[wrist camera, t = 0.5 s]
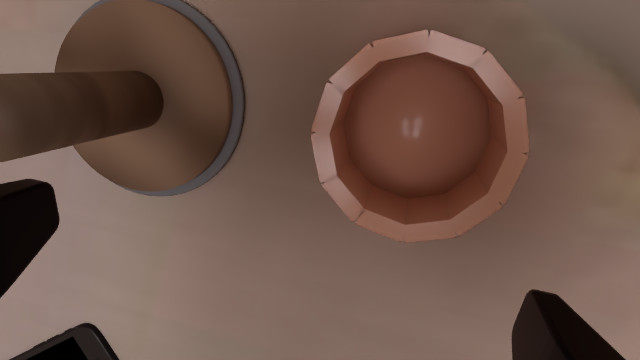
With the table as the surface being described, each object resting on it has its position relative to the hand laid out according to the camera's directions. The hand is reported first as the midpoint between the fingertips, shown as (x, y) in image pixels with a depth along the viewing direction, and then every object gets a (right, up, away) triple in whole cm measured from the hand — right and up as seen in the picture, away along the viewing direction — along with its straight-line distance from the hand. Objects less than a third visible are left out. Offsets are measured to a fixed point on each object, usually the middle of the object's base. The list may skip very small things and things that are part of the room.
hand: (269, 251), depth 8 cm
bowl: (+6, +4, +14) cm, 16 cm away
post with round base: (-9, +6, +16) cm, 19 cm away
